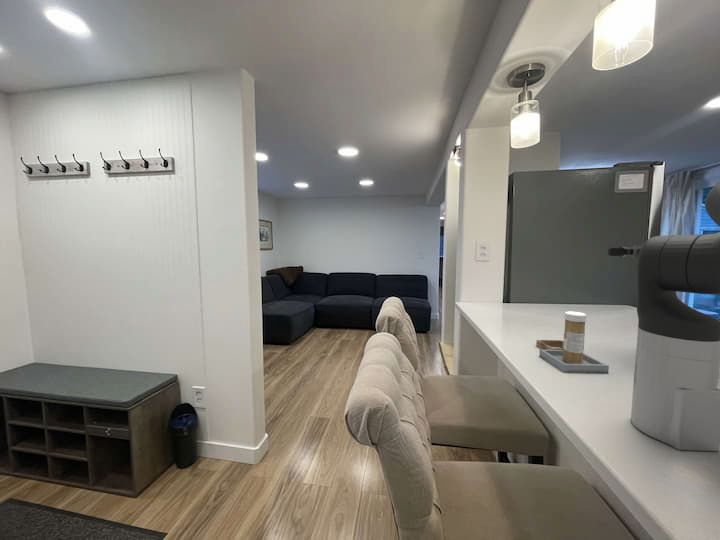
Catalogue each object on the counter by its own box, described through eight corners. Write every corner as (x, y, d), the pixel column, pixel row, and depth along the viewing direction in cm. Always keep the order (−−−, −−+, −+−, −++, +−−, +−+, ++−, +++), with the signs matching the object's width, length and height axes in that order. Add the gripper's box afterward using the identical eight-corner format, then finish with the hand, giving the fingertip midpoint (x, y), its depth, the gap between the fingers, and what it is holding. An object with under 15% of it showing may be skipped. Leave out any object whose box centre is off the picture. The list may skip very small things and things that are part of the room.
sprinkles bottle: (564, 357, 79) (567, 310, 78) (585, 362, 75) (588, 313, 74) (559, 361, 76) (562, 312, 75) (580, 367, 72) (583, 315, 71)
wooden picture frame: (579, 355, 81) (579, 349, 81) (551, 355, 82) (552, 348, 82) (561, 346, 89) (561, 340, 89) (536, 346, 90) (536, 339, 89)
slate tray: (608, 373, 70) (608, 365, 70) (564, 372, 71) (564, 364, 70) (577, 356, 81) (578, 350, 80) (539, 356, 81) (539, 349, 81)
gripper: (661, 238, 79) (601, 238, 79) (725, 236, 64) (650, 236, 65) (659, 265, 79) (599, 264, 80) (722, 268, 65) (648, 268, 66)
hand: (622, 252), depth 73 cm, fingers open, 8 cm apart
